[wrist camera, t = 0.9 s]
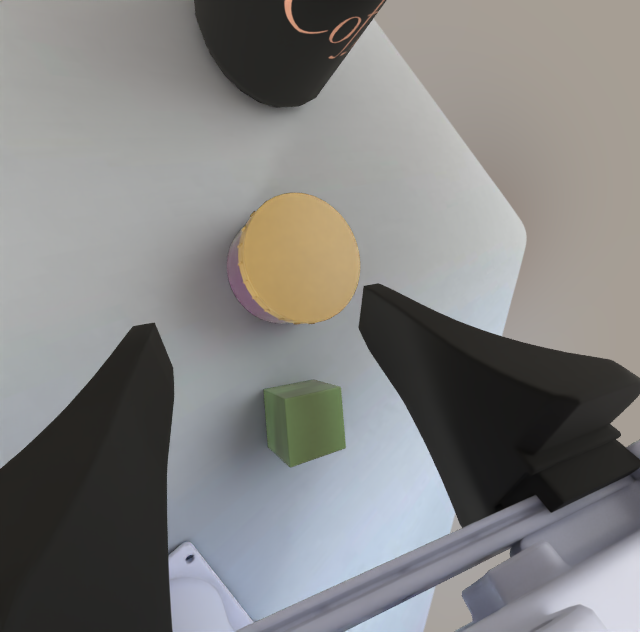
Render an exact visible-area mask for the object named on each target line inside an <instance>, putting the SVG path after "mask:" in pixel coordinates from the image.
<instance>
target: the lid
mask: <svg viewBox="0 0 640 632" xmlns="http://www.w3.org/2000/svg"><path fill="white" fill-rule="evenodd" d="M250 217H251V218H250V219H249V220H248V222H247V223H246V225H245V226H244V227H243V228H242V234H241V237H240V242H239V245H238V246H237V247H238V260H239V263H238V266H239V268H240V272H241V276H242V278H243V283H244V284H245V286H246V288H247V290H248V291H249V293H250V294H251V296H252V299H254V300H255V301H256V302H257V303H258V304H259V305H260V306H261V307H262V308H263V309H264V311H265V312H268V313H269V314H271V315H272V316H274V317H276V318H278V320H283V321H286V322H291V323H294V324H303V323H308V324H315V323H316V322H321V321H325V320H327V319H330V318H332V317H333V316H335V315H337V314H338V313H339V312H340V311H342V310H343V309H344V308H345V307H346V305H347V304H348V303H349V301H350V300H351V299H352V297H353V295H354V293H355V290H356V288H357V285H358V281H359V275H360V256H359V251H358V246H357V243H356V240H355V237H354V235H353V233H352V231H351V229H350V227H349V225H348V224H347V222H346V221H345V220H344V218H343V217H342V216H341V215H340V214H339V213H338V212H337V211H336V210H335V209H334V208H333V207H332V206H330V205H329V204H328V203H326V202H325V201H323V200H321V199H319V198H317V197H315V196H312V195H308V194H303V193H286V194H282V195H278V196H276V197H274V198H272V199H270V200H268V201H266V202H265V203H264V204H263V205H262V206H261V207H260V208H259V209H258V210H257V211H256V212H255V211H254V212H253V213H252V214H251V215H250Z"/></svg>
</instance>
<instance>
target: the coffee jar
mask: <svg viewBox="0 0 640 632" xmlns="http://www.w3.org/2000/svg"><path fill="white" fill-rule="evenodd" d="M385 1H386V0H194V3H195V15H196V18H197V22H198V25H199V27H200V30H201V32H202V35H203V38H204V40H205V43H206V45H207V47H208V49H209V51H210V54H211V55H212V57H213V58H214V60H215V61H216V63H217V64H218V66H219V67H220V69H221V70H222V72H223V73H224V75H225V76H226V77H227V78H228V79H229V80H230V81H231V82H233V83H234V84H235V85H236V86H237V87H238V88H239V89H240V90H241V91H242V92H244V93H245V94H247V95H249V96H250V97H252V98H253V99H255V100H257V101H258V102H261V103H264V104H268V105H271V106H274V107H292V106H300V105H303V104H305V103H307V102H308V101H310V100H312V99H314V98H316V97H317V95H318V94H319V93H320V91H321V90H322V88H323V87H324V86H325V84H326V83H327V82H328V80H329V79H330V77H331V76H332V75H333V73H334V72H335V70H336V69H337V68H338V66H339V65H340V64H341V62H342V61H343V59H344V58H345V57H346V55H347V54H348V53H349V51H350V50H351V48H352V47H353V46H354V44H355V43H356V42H357V40H358V39H359V37H360V36H361V35H362V33H363V32H364V31H365V29H366V28H367V26H368V25H369V24H370V22H371V21H372V20H373V18H374V17H375V15H376V14H377V13H378V11H379V10H380V8H381V7H382V6H383V4H384V3H385Z"/></svg>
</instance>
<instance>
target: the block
mask: <svg viewBox="0 0 640 632" xmlns="http://www.w3.org/2000/svg"><path fill="white" fill-rule="evenodd" d="M264 403H265V416H266V429H267V442H268V448H269V449H270V450H271V451H272V452H274V453H275V454H276V455H277V456H278V457H279V458H280V459H281V460H282V461H283V462H284V463H286V464H287V465H288V466H289V467H293V466H296V465H299V464H302V463H305V462H308V461H310V460H313V459H316V458H319V457H322V456H325V455H328V454H330V453H333V452H336V451H339V450H342V449H345V448H346V444H345V432H344V420H343V408H342V395H341V387H339V386H336V385H332V384H328V383H325V382H321V381H317V380H308V381H303V382H298V383H293V384H288V385H283V386H278V387H273V388H267V389H264Z"/></svg>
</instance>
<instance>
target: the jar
mask: <svg viewBox="0 0 640 632" xmlns="http://www.w3.org/2000/svg"><path fill="white" fill-rule="evenodd" d="M241 234H242V229H241V230H240V231H239V233H238V234H237V235H236V237H235V238H234V240H233V242H232V244H231V246H230V249H229V252H228V257H227V275H228V279H229V283H230V286H231V288H232V290H233V292H234V294H235V296H236V298H237V299H238V301H239V302H240V303H241V304H242V305H243V307H244V308H245V309H247V310H248V311H249V312H250V313H251V314H253V315H254V316H256V317H258V318H260V319H262V320H265V321H267V322H272V323H280V324H284V323H291V322H286V321H283V320H278V318H276V317H274V316H272V315H271V314H269V313H268V312H265V311H264V309H263V308H262V307H261V306H260V305H259V304H258V303H257V302H256V301H255V300H254V299H252V296H251V294H250V293H249V291H248V290H247V288H246V286H245V284H244V283H243V278H242V276H241V272H240V268H239V266H238V263H239V260H238V247H237V246H238V245H239V242H240V237H241Z"/></svg>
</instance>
